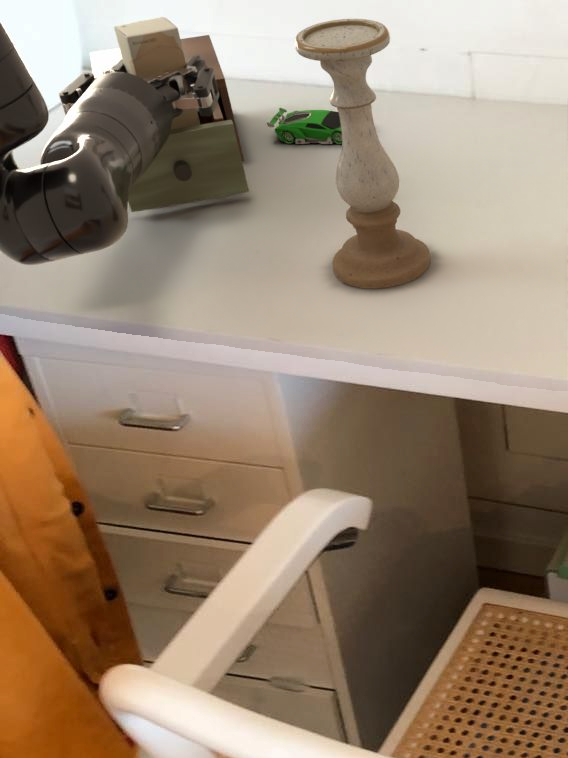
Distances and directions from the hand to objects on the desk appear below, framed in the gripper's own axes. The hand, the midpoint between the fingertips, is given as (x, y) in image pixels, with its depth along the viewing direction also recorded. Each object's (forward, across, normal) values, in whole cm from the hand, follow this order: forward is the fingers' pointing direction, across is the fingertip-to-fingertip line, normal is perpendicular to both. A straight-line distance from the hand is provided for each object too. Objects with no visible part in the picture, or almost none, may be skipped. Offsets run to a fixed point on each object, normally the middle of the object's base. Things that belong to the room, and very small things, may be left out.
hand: (163, 67), depth 127 cm
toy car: (+10, -12, +11) cm, 19 cm away
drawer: (-2, 0, +10) cm, 10 cm away
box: (-2, 0, +7) cm, 7 cm away
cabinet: (+9, +4, +11) cm, 15 cm away
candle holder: (-21, -22, +12) cm, 33 cm away
